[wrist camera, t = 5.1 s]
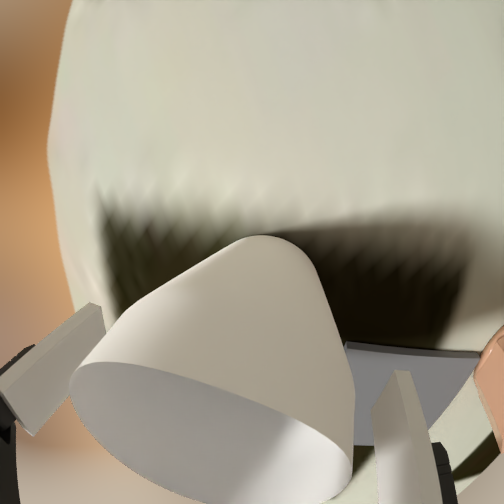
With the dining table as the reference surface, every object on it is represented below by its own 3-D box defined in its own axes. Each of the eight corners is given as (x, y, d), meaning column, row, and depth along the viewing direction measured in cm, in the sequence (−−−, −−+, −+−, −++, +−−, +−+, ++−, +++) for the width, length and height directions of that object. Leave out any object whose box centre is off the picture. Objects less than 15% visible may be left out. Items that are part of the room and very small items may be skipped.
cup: (364, 305, 16) (398, 489, 5) (251, 361, 19) (199, 510, 8) (281, 181, 15) (193, 276, 4) (169, 265, 18) (38, 387, 7)
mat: (346, 341, 17) (347, 348, 17) (476, 352, 16) (480, 358, 15) (305, 434, 22) (304, 440, 21) (414, 438, 20) (415, 443, 19)
